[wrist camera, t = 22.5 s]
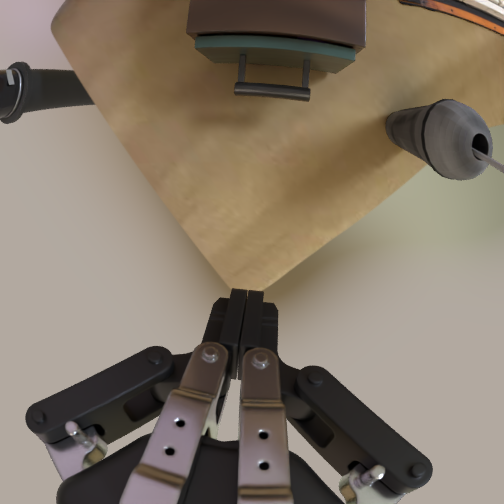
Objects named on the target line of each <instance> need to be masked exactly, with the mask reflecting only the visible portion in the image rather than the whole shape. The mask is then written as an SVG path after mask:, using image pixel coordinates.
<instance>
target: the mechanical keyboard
mask: <svg viewBox="0 0 504 504" xmlns="http://www.w3.org/2000/svg"><path fill="white" fill-rule="evenodd" d="M400 3H402V4H405V5H407V4H409V5H415V6H421V7H425V8H426V9H430V10H432V11H439V12H443V13H446V14H449V15H453V16H456V17H459V18H462V19H465V20H468V21H470V22H473V23H476V24H478V25H481V26H483V27H486V28H488V29H491V30H493V31H495V32H496V33H499V34H502V35H504V0H400Z"/></svg>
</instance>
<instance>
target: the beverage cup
mask: <svg viewBox="0 0 504 504" xmlns="http://www.w3.org/2000/svg"><path fill="white" fill-rule="evenodd" d="M386 132H387V135H388V137H389V139H390V140H391V141H392V142H393V143H395V144H396V145H398V146H399V147H401V148H402V149H404V150H406V151H408V152H410V153H411V154H413V155H415V156H417V157H418V158H420V159H422V160H423V161H425V162H426V163H427V164H428V165H429V166H431V167H432V168H433V170H434V171H436V172H437V173H438V174H439V175H441V176H442V177H445V178H448V179H456V180H467V179H473V178H475V177H477V176H478V175H480V174H482V173H483V171H484V170H485V169H486V167H487V166H488V165H489V164H490V165H492V166H494V167H495V168H497V169H498V170H500V171H501V172H503V173H504V165H502V164H500V163H499V162H497V161H495V160H494V159H492V158H491V157H492V149H493V146H492V138H491V134H490V131H489V129H488V127H487V125H486V123H485V121H484V120H483V118H482V117H481V116H480V115H479V114H478V113H477V112H476V111H475V110H474V109H472V108H471V107H469V106H467V105H465V104H463V103H460V102H457V101H455V100H453V99H442V100H440V101H437V102H435V103H433V104H431V105H428V106H421V107H415V108H409V109H404V110H400V111H397V112H394V113H392V114H391V115H390V116H389V117H388V119H387V121H386Z"/></svg>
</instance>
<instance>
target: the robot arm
mask: <svg viewBox="0 0 504 504" xmlns="http://www.w3.org/2000/svg"><path fill="white" fill-rule="evenodd" d="M23 87H24V79H23V74H22V72H21V71H20V70H19V69H16V68H15V69H6V70H0V118H6V117H10V116H11V115H13V114H14V112H15V111H16V110H17V108H18V106H19V104H20V101H21V98H22V94H23ZM247 291H248V290H244V289H235V288H232V291H231V295H230V299H229V298H219V299H218V300H217V301H216V302H215V303H214V304H213V307H212V310H211V314H210V317H209V320H208V323H207V327H206V330H205V333H204V336H203V340H202V343H201V344H200V345H198V346H197V347H196V348H195V349H194V351H193V352H190V353H187V354H178V355H172V354H171V352H170V351H169V350H168V349H166V348H164V347H161V346H152V347H149V348H146V349H145V350H142V351H141V352H139V353H137V354H135V355H133V356H131V357H129V358H127V359H125V360H123V361H121V362H119V363H117V364H115V365H113V366H111V367H109V368H107V369H105V370H104V371H101V372H100V373H97V374H95V375H93V376H92V377H89V378H87V379H86V380H83V381H81V382H79V383H77V384H75V385H73V386H71V387H69V388H67V389H65V390H62V391H61V392H58V393H56V394H54V395H52V396H50V397H48V398H45V399H43V400H41V401H39V402H37V403H34V404H33V405H32V406H30V407H29V408H28V410H27V413H26V423H27V426H28V428H29V429H30V430H31V431H32V432H33V433H35V434H36V435H37V436H38V437H39V438H40V439H41V440H42V441H43V442H44V444H45V446H46V448H47V450H48V452H49V454H50V457H51V459H52V461H53V463H54V465H55V467H56V469H57V471H58V473H59V475H60V477H61V479H62V480H63V482H62V484H61V485H60V487H59V488H58V491H57V497H56V503H57V504H344V503H343V502H342V500H341V499H340V498H339V497H338V496H337V495H336V494H335V493H334V492H333V491H332V490H331V489H330V488H329V487H328V486H327V485H326V484H325V483H324V482H323V481H322V480H321V478H320V477H319V476H318V475H317V474H316V473H315V472H314V471H313V470H312V469H311V467H310V466H309V465H308V464H307V463H306V462H305V461H304V460H303V459H302V458H301V457H299V456H298V455H296V454H294V453H293V452H291V451H289V450H288V436H287V422H286V418H287V420H288V421H289V422H290V423H291V424H292V425H293V426H294V428H295V429H296V430H297V431H298V432H299V433H300V434H301V435H302V436H303V437H304V438H305V439H306V440H307V442H308V443H309V444H310V445H311V446H312V447H313V448H314V449H315V450H316V451H317V452H318V453H319V454H320V455H321V456H322V457H323V458H324V459H325V460H326V461H327V462H328V463H329V464H330V465H331V466H332V467H333V468H334V469H335V470H336V471H337V472H338V473H339V474H340V475H341V476H342V478H341V480H340V482H339V490H340V492H341V494H342V495H343V496H344V498H345V500H346V504H397V503H398V502H399V501H400V499H401V498H402V497H403V496H404V495H405V494H407V493H410V492H411V491H413V490H416V489H418V488H420V487H422V486H424V485H425V484H426V483H427V482H428V481H429V480H430V478H431V476H432V471H433V468H432V464H431V462H430V460H429V459H428V458H427V457H426V456H424V455H423V454H422V453H421V452H420V451H418V450H417V449H416V448H415V447H414V446H412V445H411V444H410V443H409V442H408V441H406V440H405V439H404V438H403V437H402V436H400V435H399V434H398V433H397V432H395V430H393V429H392V428H391V427H390V426H389V425H388V424H386V423H385V422H384V421H383V420H382V419H381V418H380V417H378V416H377V415H376V414H375V413H374V412H372V410H370V409H369V408H368V407H367V406H366V405H365V404H364V403H362V402H361V401H360V400H359V399H358V398H357V397H356V396H354V395H353V394H352V393H351V392H350V391H349V390H348V389H347V388H346V387H344V385H342V384H341V383H340V382H339V381H338V380H337V379H336V378H335V377H333V375H331V374H330V373H329V372H328V371H327V370H325V369H324V368H322V367H319V366H307V367H304V368H303V369H301V370H299V369H296V368H293V367H290V366H288V365H286V364H285V363H283V362H282V360H281V359H280V358H279V356H278V352H277V345H278V343H277V342H278V310H277V308H276V306H275V304H274V303H267V302H263V296H264V292H263V291H254V290H249V291H248V297H247ZM238 364H239V365H238ZM237 370H238V380H241V389H240V406H239V429H238V440H236V441H225V442H223V441H218V440H217V434H218V428H219V424H220V420H221V416H222V413H223V409H224V406H225V402H226V399H227V395H228V390H229V387H230V381H231V379H236V377H237ZM159 415H160V416H159ZM158 416H159V418H158V421H157V423H156V425H155V427H154V430H153V432H152V433H150V434H147V435H144V436H142V437H140V438H138V439H136V440H135V441H133V442H132V443H130V444H128V445H127V446H125V447H123V448H122V449H120V450H118V451H117V452H115V453H113V454H112V455H110V456H108V457H106V458H105V459H103V458H104V457H105V455H106V453H107V445H108V444H110V443H112V442H114V441H115V440H117V439H119V438H121V437H123V436H125V435H127V434H128V433H130V432H132V431H134V430H135V429H137V428H139V427H141V426H142V425H144V424H146V423H147V422H149V421H151V420H153V419H154V418H156V417H158ZM102 459H103V460H102ZM100 460H101V461H100Z"/></svg>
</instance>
